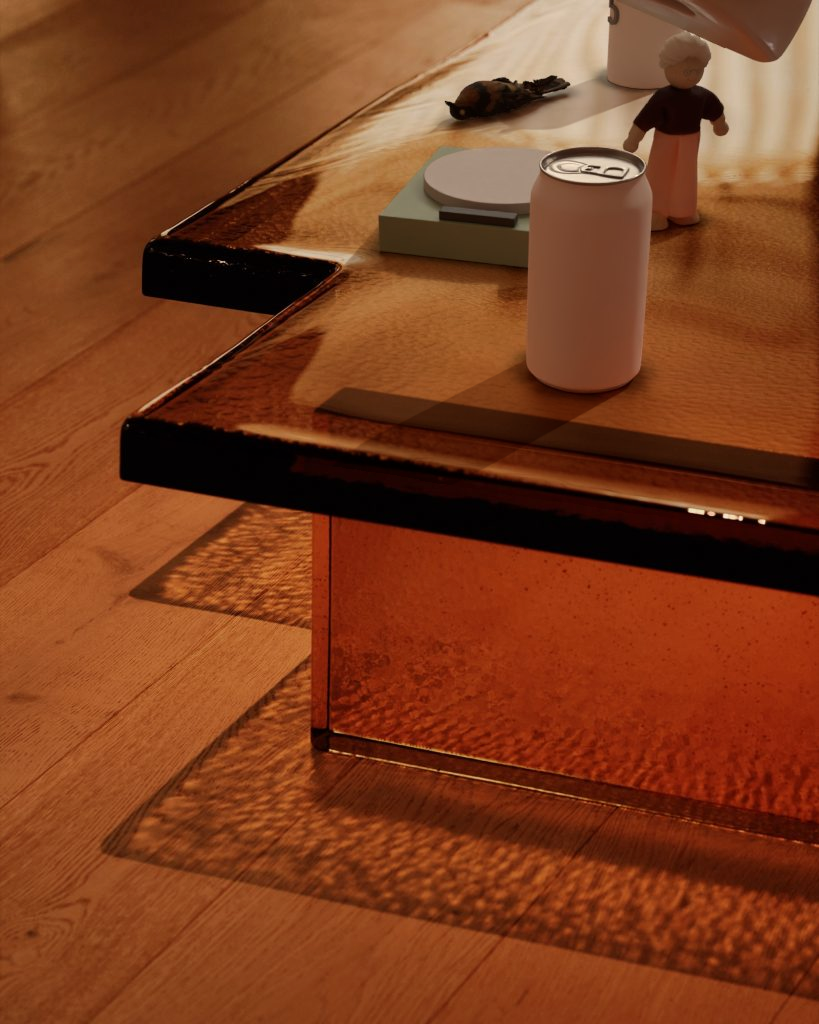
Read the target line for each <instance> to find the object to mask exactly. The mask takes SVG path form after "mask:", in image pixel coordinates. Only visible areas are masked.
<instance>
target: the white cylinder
mask: <svg viewBox="0 0 819 1024" xmlns="http://www.w3.org/2000/svg"><path fill="white" fill-rule="evenodd" d="M608 8H609V16H607V22H608V40H607V42H608V43H607V63H606V79H607V80H608V81H609V82H610V83H612V84H614V85H616V86H620V87H625V88H632V89H640V90H641V89H645V90H647V89H660V88H663V87H665V86H668V85H670V83H669V82H668V80H667V79H666V77H665V73H664V69H662V68H661V67H660V66H659V62H660V57H659V51H660V50H661V48H662V46H663V45H664V44H665V41H666V40H667V39H669V38H670V37H672V36H673V35H677V34H679V33H682V32H685V30H683V29H680V28H678V27H676V26H674V25H671V24H669V23H667V22H664V21H662V20H660V19H657V18H655V17H653V16H650V15H648V14H646V13H643V12H641V11H639V10H636V9H634V8H632V7H629V6H627V5H625V4H622V3H620V2H618V1H615V0H608Z"/></svg>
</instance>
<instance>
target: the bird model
mask: <svg viewBox="0 0 819 1024" xmlns="http://www.w3.org/2000/svg"><path fill="white" fill-rule="evenodd" d="M570 86H571V82H569V81H566V80H565V79H564V78H563V77H558V75H554V74H551V75H549V76H546V77H545V78H539V79H534V78H533V79H532V81H529V80H524V81H522V83H521V82H520V83H518V80H516V79H515V80H514V81H512V80H510V78H507V77H506V76H502V77H496V78H492V79H491V80H477V81H474V82H472V83H470V84H468V85H466V86H464V88H462V90H461V91H460V93H459V94H458V95H457V97H456V99H455V101H454V102H452V101H449V100H444V104H445V105H446V106H447V107H448V108H449V109H448V110H449V114H450V116H451V117H452V118H453V119H455V120H456V121H466V120H469V119H473V118H474V119H475V118H478V119H487V118H491V117H494V116H498V115H499V116H500V115H501V114H506V113H508V114H509V112H511V111H515V110H517V109H520V108H522V107H524V106H525V105H528V104H531V103H532V102H535V101H538V100H542V99H545V98H547V96H546V95H547V94H550V93H556V92H559V91H564V90H566V89H568V87H570Z"/></svg>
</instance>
